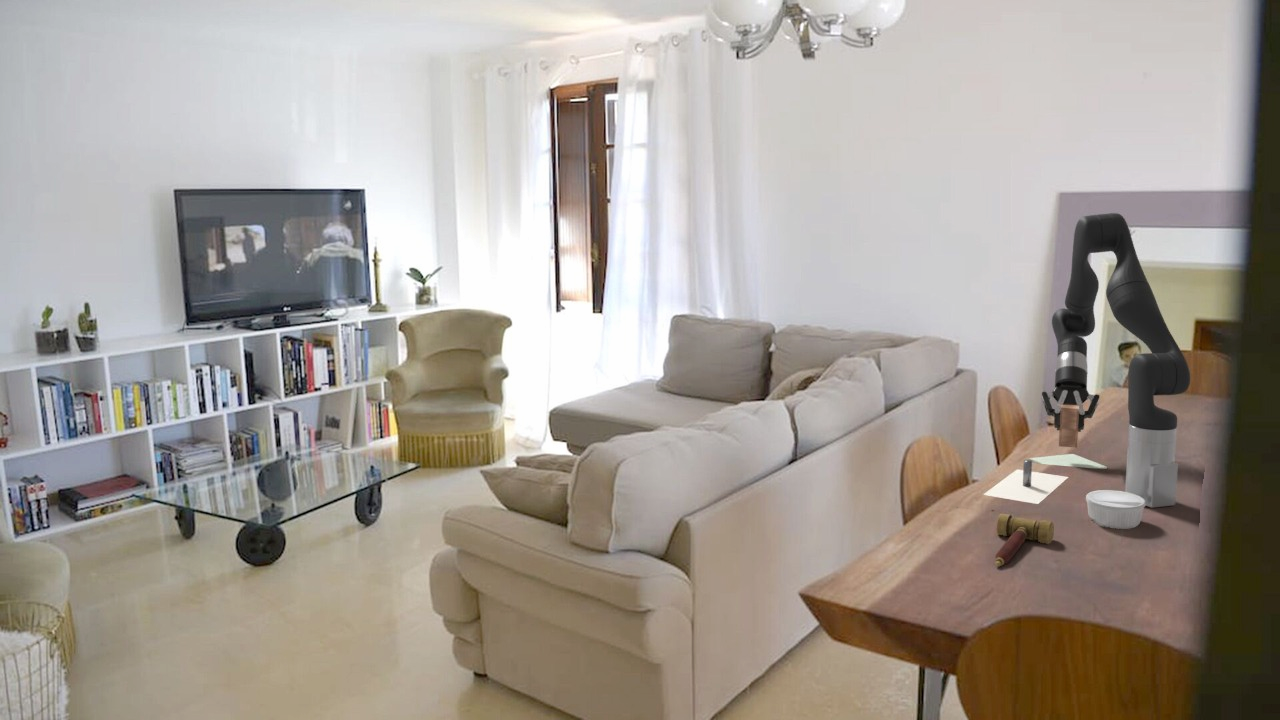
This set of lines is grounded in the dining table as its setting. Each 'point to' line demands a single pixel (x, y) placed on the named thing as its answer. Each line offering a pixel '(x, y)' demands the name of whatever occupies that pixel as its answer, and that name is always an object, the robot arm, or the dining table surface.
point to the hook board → (1026, 492)
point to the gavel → (1020, 535)
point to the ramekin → (1115, 508)
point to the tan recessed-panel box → (1068, 425)
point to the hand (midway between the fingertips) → (1068, 429)
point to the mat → (1068, 461)
